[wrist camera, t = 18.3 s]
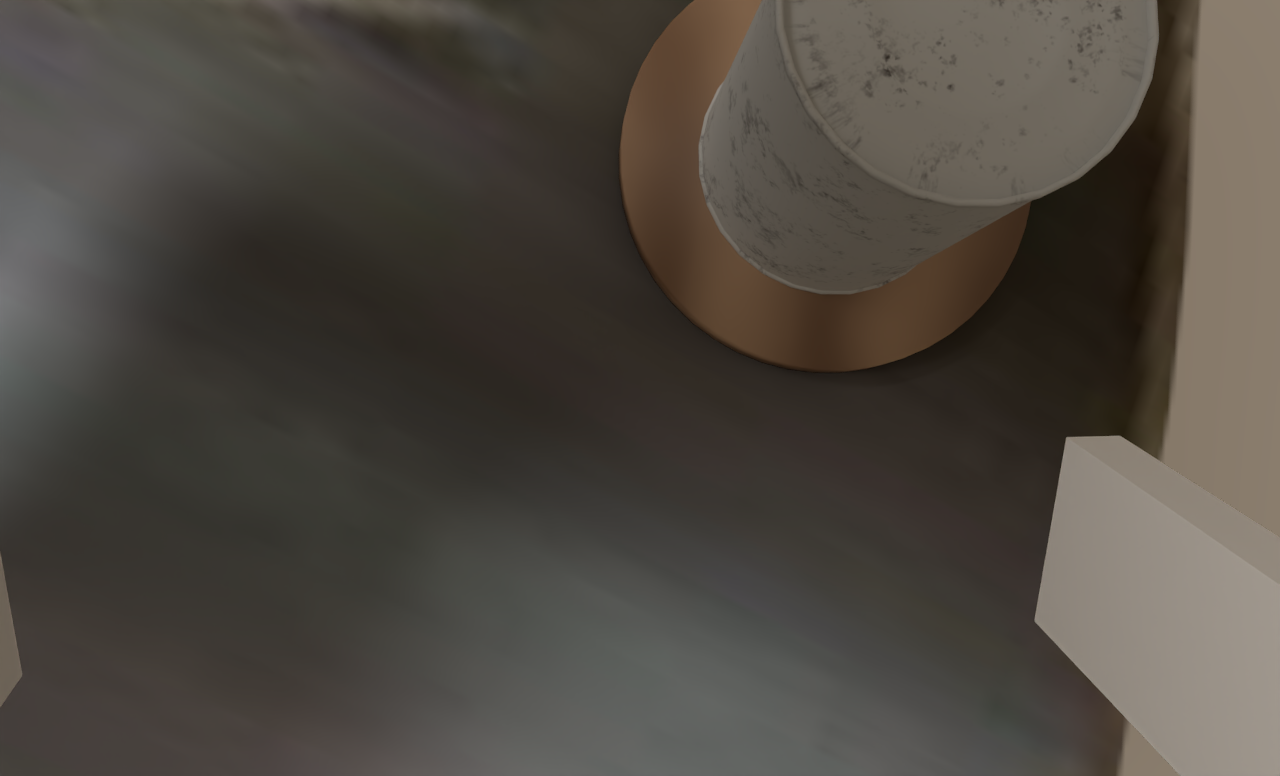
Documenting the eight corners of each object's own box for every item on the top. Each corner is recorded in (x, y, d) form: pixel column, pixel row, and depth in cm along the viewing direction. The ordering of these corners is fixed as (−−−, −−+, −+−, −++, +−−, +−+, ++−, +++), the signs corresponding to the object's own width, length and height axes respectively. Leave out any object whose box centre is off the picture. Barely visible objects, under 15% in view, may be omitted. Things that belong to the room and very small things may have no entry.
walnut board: (635, 387, 37) (638, 384, 36) (603, -21, 38) (605, -37, 37) (1038, 358, 39) (1054, 354, 38) (996, -34, 40) (1010, -50, 39)
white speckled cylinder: (950, 309, 37) (1149, 229, 25) (685, 279, 37) (758, 180, 24) (969, 51, 38) (1169, -148, 26) (710, 15, 38) (793, -207, 25)
